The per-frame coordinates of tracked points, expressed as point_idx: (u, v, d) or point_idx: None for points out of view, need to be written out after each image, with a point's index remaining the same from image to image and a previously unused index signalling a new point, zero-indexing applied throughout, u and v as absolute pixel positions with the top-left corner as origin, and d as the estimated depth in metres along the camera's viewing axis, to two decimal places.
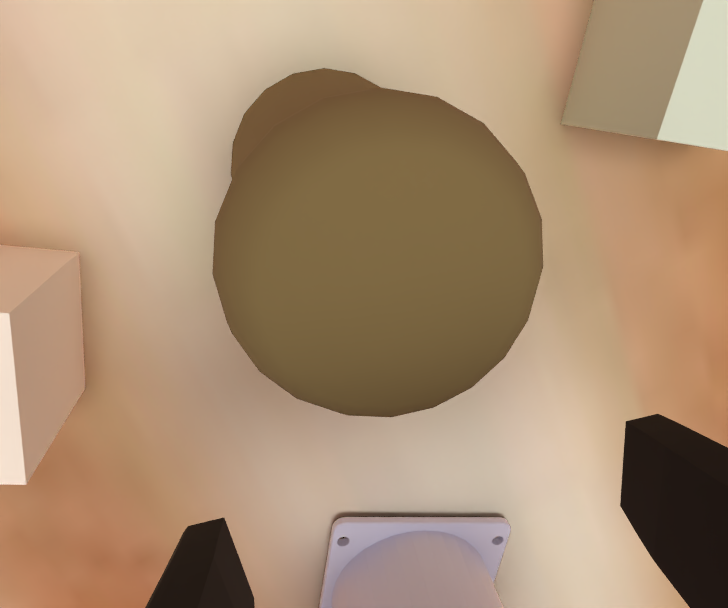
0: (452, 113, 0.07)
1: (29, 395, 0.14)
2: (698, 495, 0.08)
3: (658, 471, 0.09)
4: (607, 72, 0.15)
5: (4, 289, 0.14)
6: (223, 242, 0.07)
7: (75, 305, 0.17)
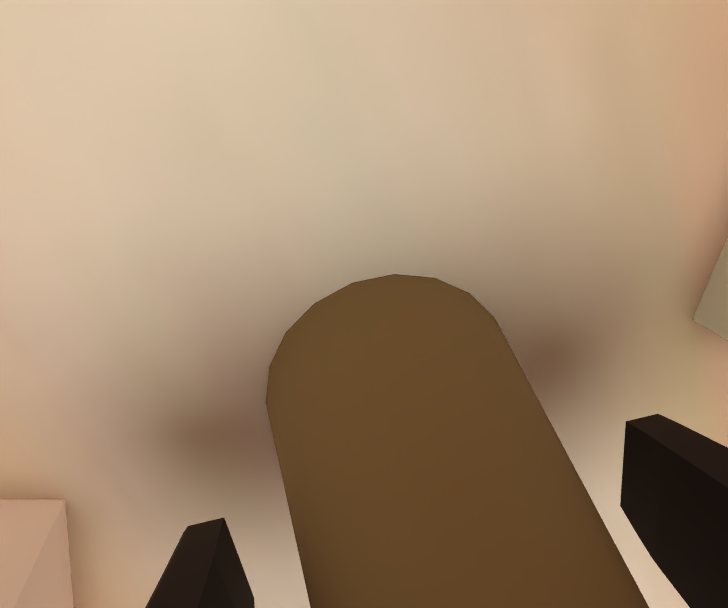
0: None
1: None
2: (698, 495, 0.08)
3: (658, 471, 0.09)
4: None
5: None
6: None
7: (61, 567, 0.13)
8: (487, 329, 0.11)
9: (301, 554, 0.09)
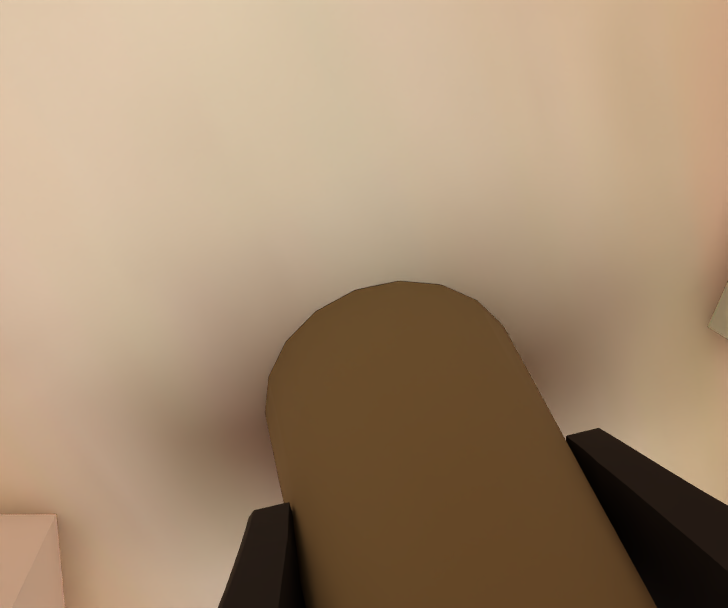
0: None
1: None
2: (628, 513, 0.08)
3: (594, 487, 0.09)
4: None
5: None
6: None
7: (52, 584, 0.13)
8: (497, 339, 0.10)
9: (302, 581, 0.08)
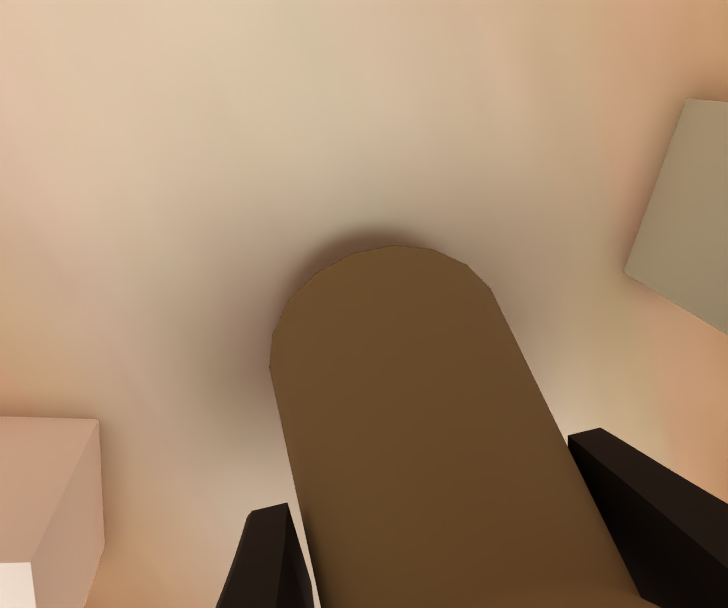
0: None
1: None
2: (630, 512, 0.08)
3: (596, 486, 0.09)
4: (686, 241, 0.14)
5: (22, 511, 0.12)
6: None
7: (95, 476, 0.16)
8: (482, 299, 0.11)
9: (301, 505, 0.09)
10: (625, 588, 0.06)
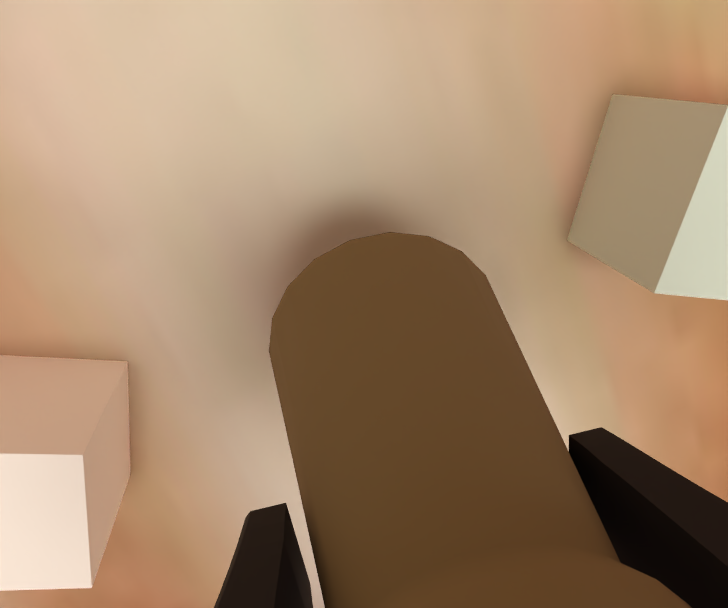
0: None
1: (94, 512, 0.16)
2: (631, 512, 0.08)
3: (597, 486, 0.09)
4: (610, 211, 0.17)
5: (72, 422, 0.15)
6: None
7: (124, 409, 0.19)
8: (476, 284, 0.12)
9: (299, 481, 0.10)
10: (606, 555, 0.07)
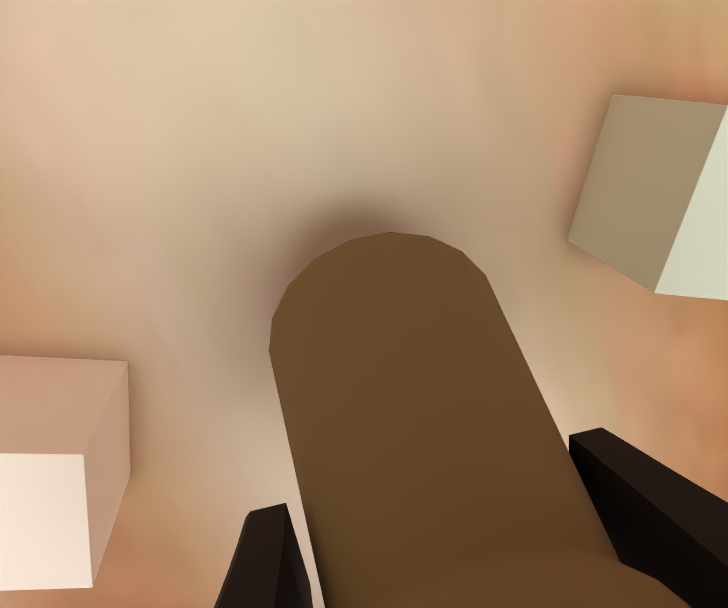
0: None
1: (95, 512, 0.16)
2: (631, 512, 0.08)
3: (597, 486, 0.09)
4: (610, 210, 0.17)
5: (72, 422, 0.15)
6: None
7: (124, 409, 0.19)
8: (476, 284, 0.12)
9: (299, 481, 0.10)
10: (606, 555, 0.07)
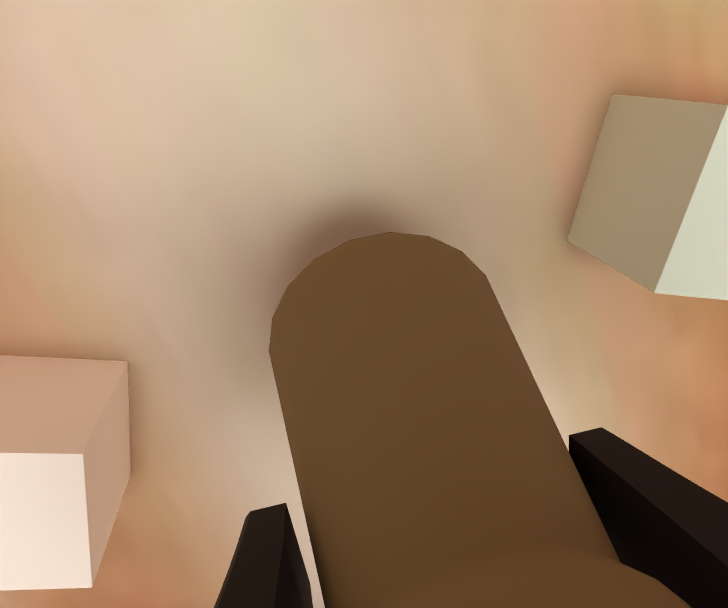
0: None
1: (94, 511, 0.16)
2: (631, 512, 0.08)
3: (597, 486, 0.09)
4: (610, 210, 0.17)
5: (72, 421, 0.15)
6: None
7: (124, 409, 0.19)
8: (476, 284, 0.12)
9: (299, 481, 0.10)
10: (606, 555, 0.07)
